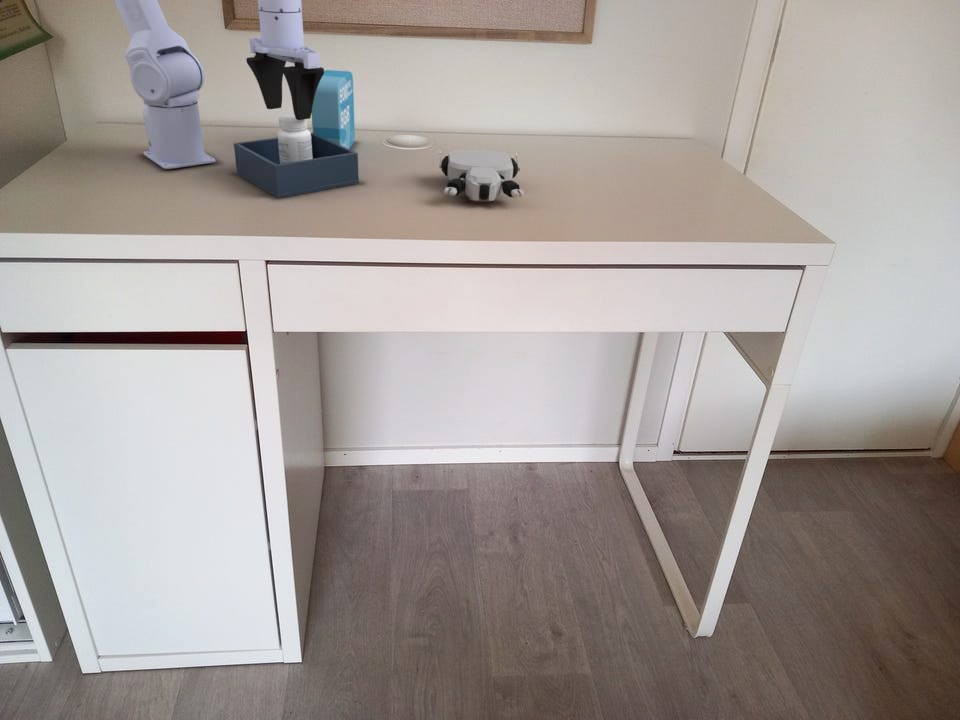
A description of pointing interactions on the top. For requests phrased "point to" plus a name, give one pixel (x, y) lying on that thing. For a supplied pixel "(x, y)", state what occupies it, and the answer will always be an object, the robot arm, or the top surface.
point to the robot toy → (480, 174)
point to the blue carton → (334, 108)
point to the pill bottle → (294, 139)
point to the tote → (296, 167)
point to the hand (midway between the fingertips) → (288, 113)
